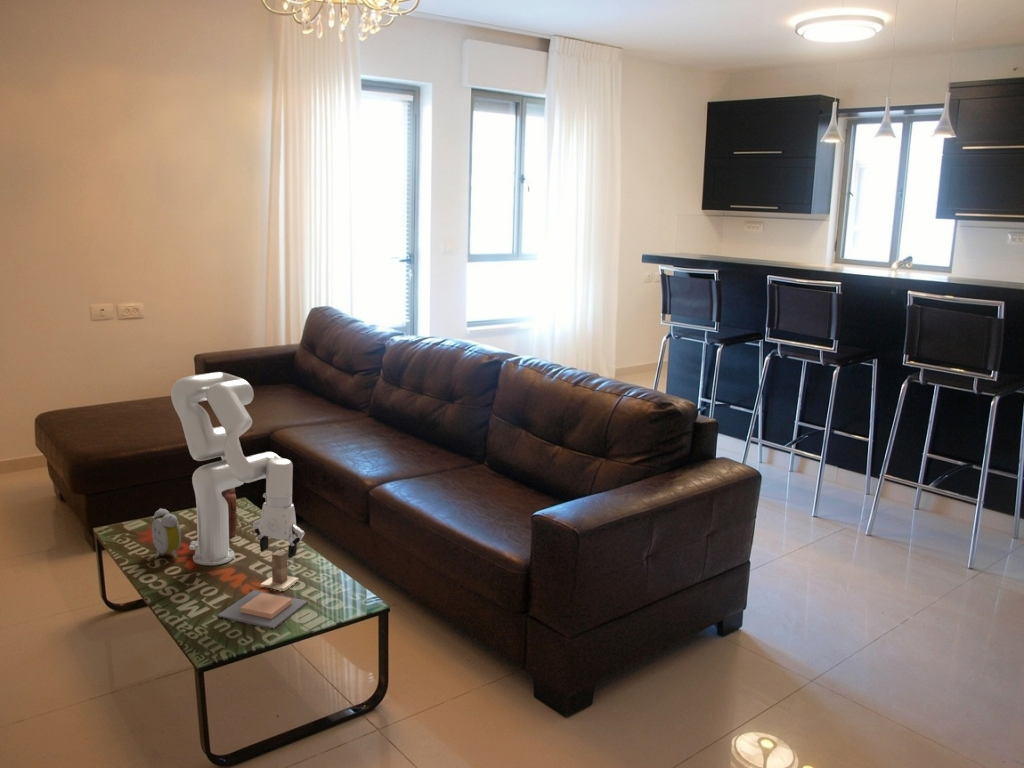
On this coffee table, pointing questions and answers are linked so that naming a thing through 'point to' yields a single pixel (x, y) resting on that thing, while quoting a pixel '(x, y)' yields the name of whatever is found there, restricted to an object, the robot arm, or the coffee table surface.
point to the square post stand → (279, 573)
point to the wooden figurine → (231, 509)
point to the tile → (266, 605)
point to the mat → (237, 615)
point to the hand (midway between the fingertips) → (278, 553)
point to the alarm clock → (166, 533)
